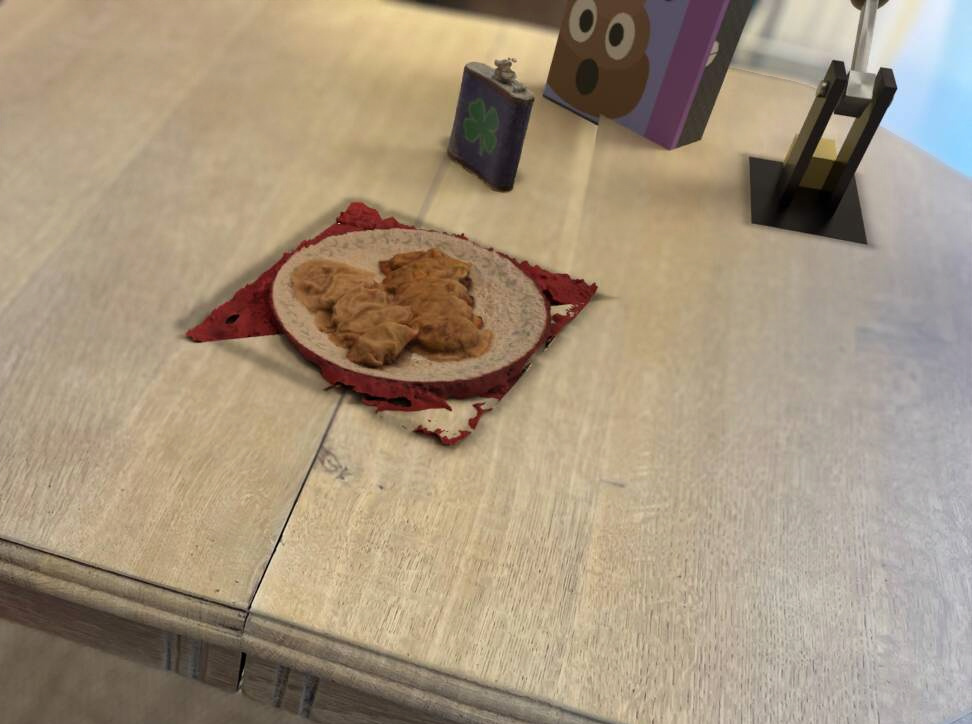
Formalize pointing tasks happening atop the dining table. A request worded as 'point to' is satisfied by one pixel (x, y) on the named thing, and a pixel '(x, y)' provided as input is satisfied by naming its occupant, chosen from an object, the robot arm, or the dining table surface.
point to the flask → (491, 123)
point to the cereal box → (646, 63)
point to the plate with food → (404, 312)
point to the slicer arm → (860, 63)
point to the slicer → (838, 198)
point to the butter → (817, 163)
